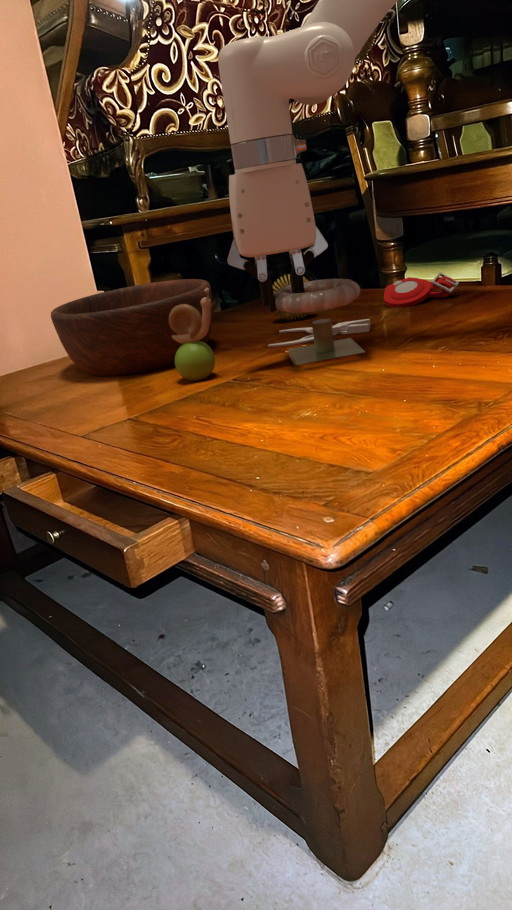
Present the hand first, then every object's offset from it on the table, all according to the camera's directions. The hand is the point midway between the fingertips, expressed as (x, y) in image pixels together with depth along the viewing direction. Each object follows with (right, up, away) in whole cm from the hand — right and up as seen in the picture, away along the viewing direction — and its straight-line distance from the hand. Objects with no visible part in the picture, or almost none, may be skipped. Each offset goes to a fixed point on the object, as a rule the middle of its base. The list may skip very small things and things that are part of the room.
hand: (284, 306), depth 91 cm
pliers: (+6, -1, +16) cm, 18 cm away
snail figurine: (-11, -9, +4) cm, 15 cm away
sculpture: (+3, +4, +30) cm, 30 cm away
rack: (+6, -6, +3) cm, 9 cm away
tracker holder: (+24, +7, +28) cm, 37 cm away
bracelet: (+4, +1, 0) cm, 4 cm away
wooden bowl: (-22, -4, +21) cm, 30 cm away
